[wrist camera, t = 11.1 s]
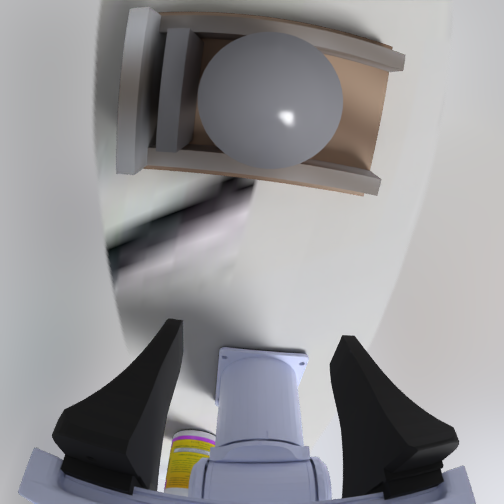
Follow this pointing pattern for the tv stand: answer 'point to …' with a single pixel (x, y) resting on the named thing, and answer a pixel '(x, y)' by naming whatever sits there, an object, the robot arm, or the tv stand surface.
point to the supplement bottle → (186, 458)
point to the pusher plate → (178, 89)
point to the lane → (201, 147)
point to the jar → (270, 100)
